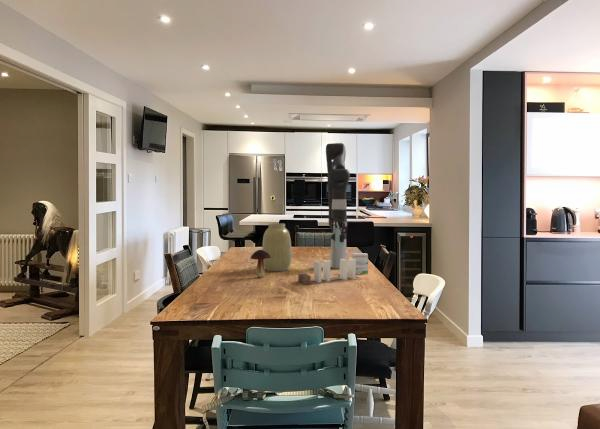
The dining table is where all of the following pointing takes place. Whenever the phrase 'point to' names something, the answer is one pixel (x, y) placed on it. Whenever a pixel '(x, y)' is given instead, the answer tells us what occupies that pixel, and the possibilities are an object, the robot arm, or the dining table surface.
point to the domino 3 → (338, 239)
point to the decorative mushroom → (260, 261)
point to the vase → (277, 247)
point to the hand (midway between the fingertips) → (338, 241)
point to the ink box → (361, 262)
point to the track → (306, 279)
